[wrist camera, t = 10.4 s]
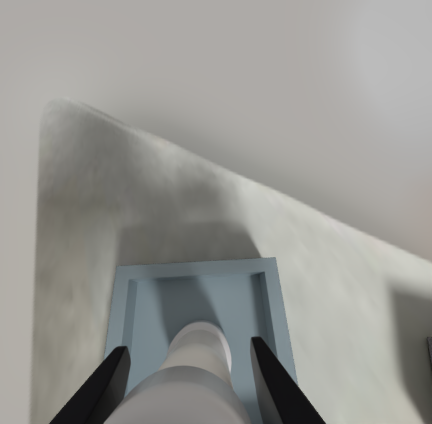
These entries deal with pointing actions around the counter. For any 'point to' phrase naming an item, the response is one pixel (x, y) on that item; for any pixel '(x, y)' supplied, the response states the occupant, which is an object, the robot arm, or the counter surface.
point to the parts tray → (200, 315)
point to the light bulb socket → (430, 346)
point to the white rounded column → (187, 384)
